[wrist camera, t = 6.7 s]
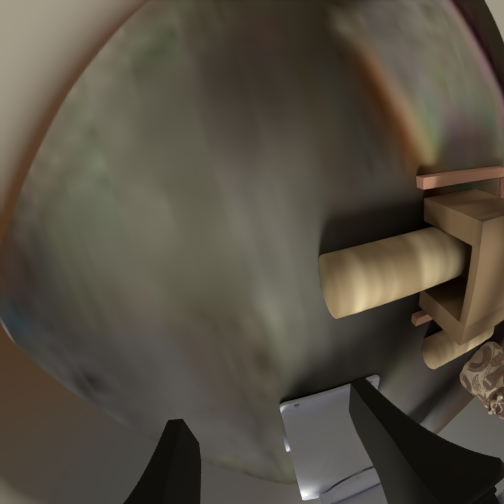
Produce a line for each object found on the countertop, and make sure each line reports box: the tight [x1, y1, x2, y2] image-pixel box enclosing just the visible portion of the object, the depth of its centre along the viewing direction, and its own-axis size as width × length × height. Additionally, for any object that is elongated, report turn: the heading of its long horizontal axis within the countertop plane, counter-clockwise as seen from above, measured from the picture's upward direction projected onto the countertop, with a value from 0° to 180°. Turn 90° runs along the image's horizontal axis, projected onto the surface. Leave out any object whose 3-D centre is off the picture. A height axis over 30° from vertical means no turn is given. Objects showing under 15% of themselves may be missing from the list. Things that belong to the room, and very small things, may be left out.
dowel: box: [318, 226, 472, 319], centre depth 17 cm, size 12×4×4 cm, turn 101°
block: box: [419, 189, 504, 346], centre depth 16 cm, size 6×9×6 cm, turn 11°
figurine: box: [459, 341, 504, 420], centre depth 21 cm, size 7×7×12 cm
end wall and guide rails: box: [411, 166, 504, 326], centre depth 17 cm, size 12×12×6 cm
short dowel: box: [422, 326, 494, 369], centre depth 22 cm, size 8×3×3 cm
